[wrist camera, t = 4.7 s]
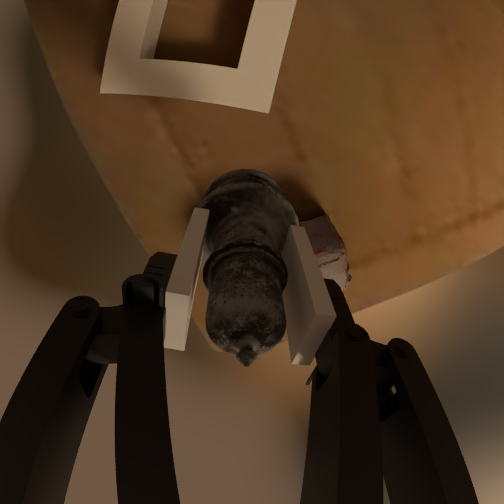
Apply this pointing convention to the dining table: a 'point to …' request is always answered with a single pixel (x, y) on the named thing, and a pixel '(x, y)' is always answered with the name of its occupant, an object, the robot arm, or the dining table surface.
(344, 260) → the food item
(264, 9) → the square frame
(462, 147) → the dining table surface
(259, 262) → the dark chess piece
